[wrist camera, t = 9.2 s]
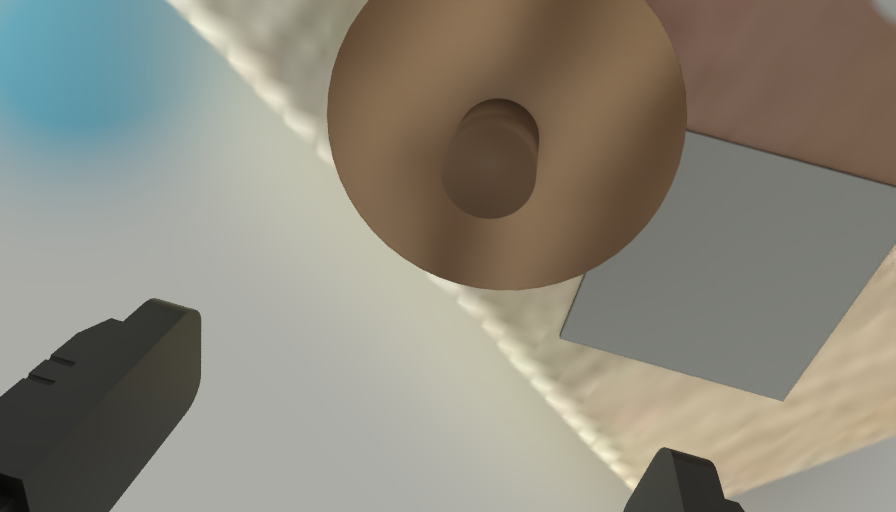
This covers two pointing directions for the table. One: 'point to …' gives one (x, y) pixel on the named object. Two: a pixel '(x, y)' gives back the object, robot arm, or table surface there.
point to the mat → (739, 268)
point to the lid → (507, 132)
